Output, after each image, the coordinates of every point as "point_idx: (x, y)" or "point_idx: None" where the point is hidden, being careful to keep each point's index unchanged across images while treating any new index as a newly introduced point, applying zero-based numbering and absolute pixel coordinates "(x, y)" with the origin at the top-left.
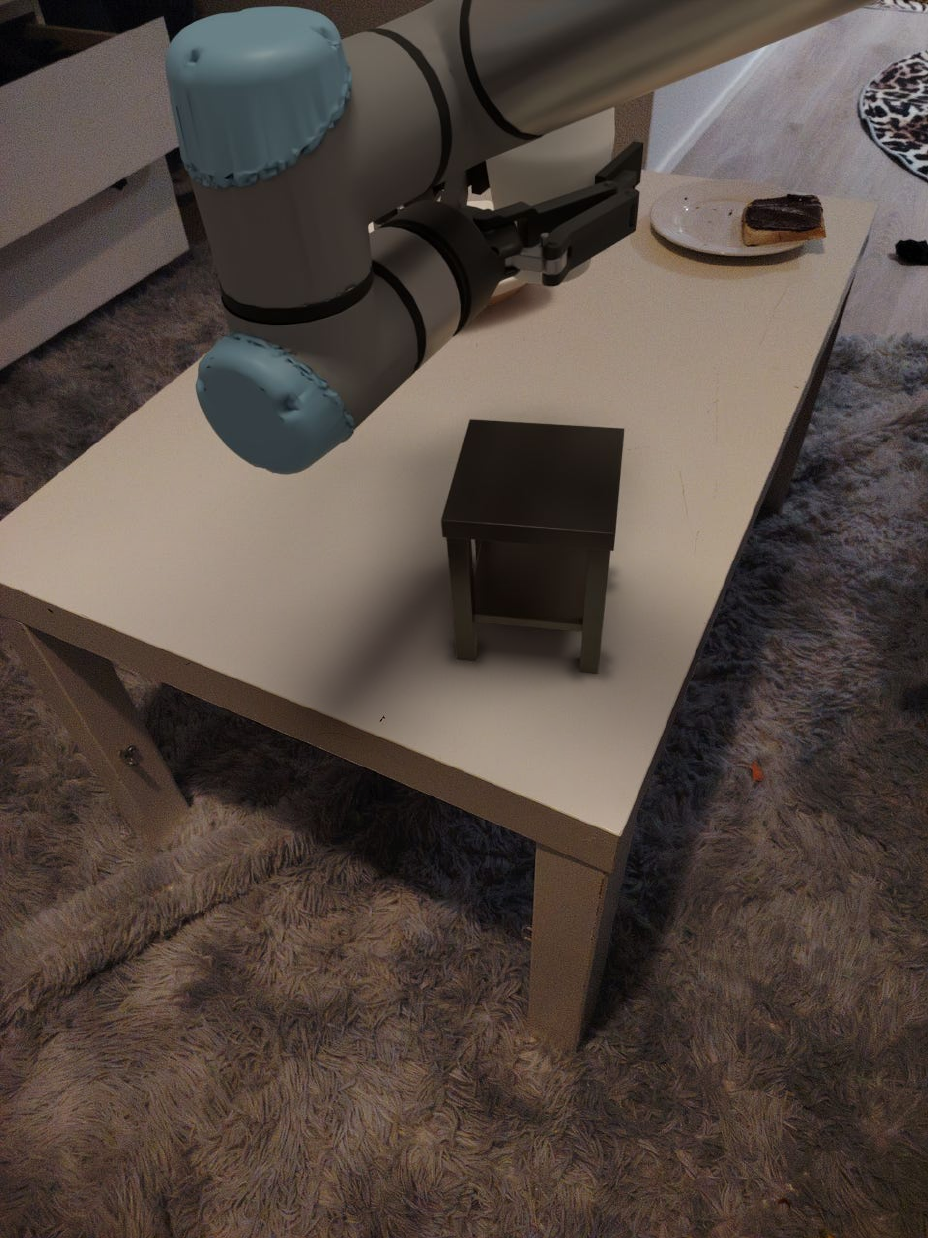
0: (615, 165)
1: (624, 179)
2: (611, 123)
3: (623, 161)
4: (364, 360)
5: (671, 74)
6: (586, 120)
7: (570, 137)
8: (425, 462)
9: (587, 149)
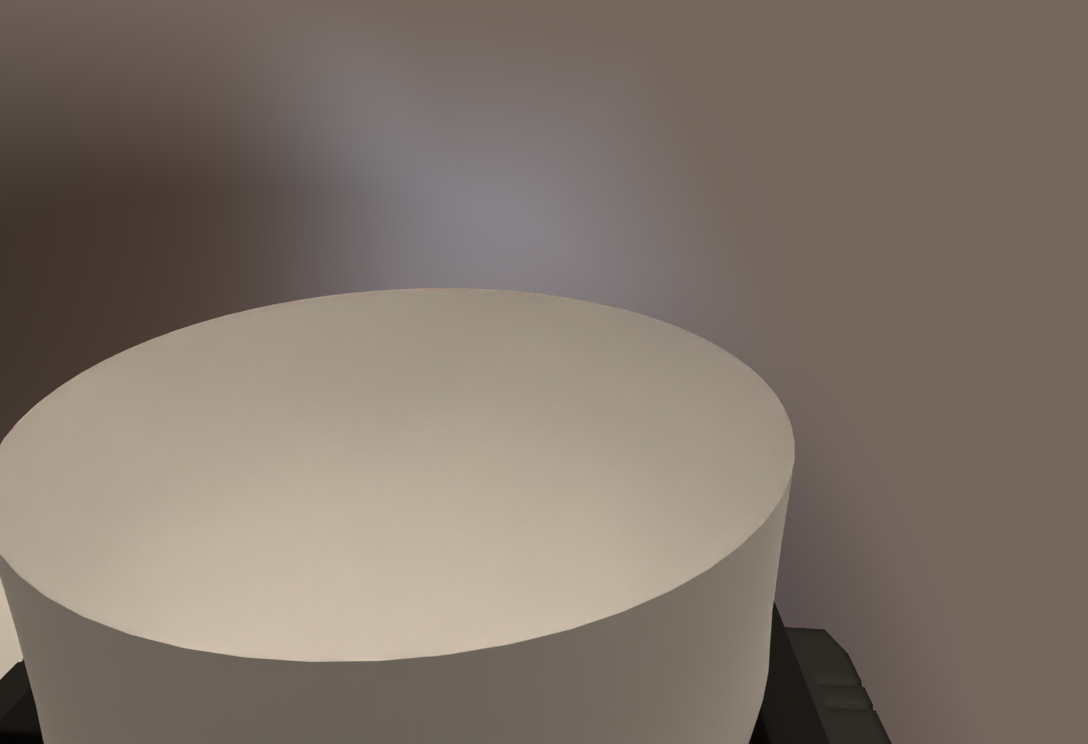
0: (781, 649)
1: (838, 704)
2: (749, 491)
3: (775, 606)
4: None
5: None
6: (770, 562)
7: (710, 700)
8: None
9: (759, 692)
